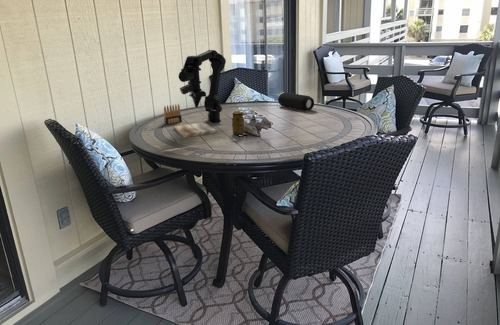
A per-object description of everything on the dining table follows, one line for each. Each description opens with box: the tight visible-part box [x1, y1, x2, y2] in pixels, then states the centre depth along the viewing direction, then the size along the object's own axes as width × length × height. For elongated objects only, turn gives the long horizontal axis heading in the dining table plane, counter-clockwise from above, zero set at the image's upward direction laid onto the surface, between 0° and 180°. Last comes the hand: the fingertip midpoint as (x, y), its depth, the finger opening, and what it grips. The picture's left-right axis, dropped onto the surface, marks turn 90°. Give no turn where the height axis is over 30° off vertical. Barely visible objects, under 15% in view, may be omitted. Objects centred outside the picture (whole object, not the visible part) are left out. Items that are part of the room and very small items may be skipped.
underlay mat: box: [167, 128, 221, 140], centre depth 223 cm, size 23×22×1 cm
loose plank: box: [188, 122, 218, 136], centre depth 225 cm, size 9×20×2 cm, turn 26°
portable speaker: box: [277, 92, 315, 112], centre depth 274 cm, size 26×10×10 cm, turn 41°
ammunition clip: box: [163, 103, 183, 125], centre depth 241 cm, size 11×2×12 cm, turn 125°
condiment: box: [231, 111, 245, 137], centre depth 215 cm, size 7×8×12 cm
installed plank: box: [173, 124, 201, 139], centre depth 221 cm, size 9×20×2 cm, turn 26°
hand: (196, 107), depth 229 cm, fingers closed
